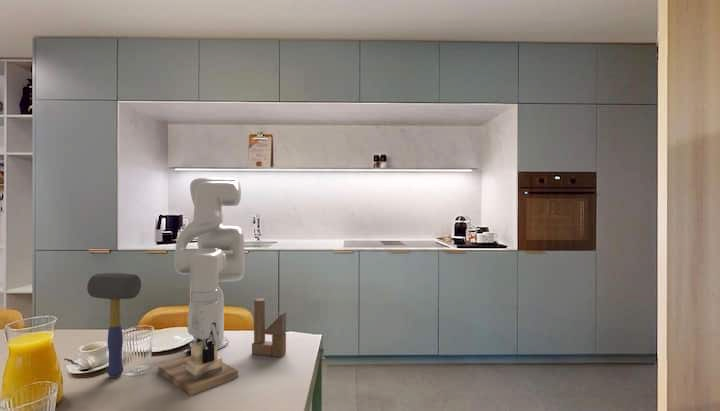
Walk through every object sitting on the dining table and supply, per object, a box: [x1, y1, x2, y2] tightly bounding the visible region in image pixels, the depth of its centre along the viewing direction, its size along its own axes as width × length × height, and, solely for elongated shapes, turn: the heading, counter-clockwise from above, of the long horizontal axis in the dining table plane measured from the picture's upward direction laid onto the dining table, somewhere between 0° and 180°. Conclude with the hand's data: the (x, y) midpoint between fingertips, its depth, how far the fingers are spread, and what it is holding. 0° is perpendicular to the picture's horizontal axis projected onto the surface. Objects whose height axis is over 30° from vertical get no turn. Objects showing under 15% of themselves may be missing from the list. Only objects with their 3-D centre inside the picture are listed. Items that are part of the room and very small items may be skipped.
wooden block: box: [251, 297, 287, 358], centre depth 130 cm, size 4×11×18 cm, turn 78°
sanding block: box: [186, 339, 223, 380], centre depth 112 cm, size 8×5×9 cm, turn 140°
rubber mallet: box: [86, 272, 142, 378], centre depth 113 cm, size 12×8×30 cm, turn 84°
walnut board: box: [157, 355, 239, 396], centre depth 115 cm, size 20×14×2 cm
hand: (204, 359), depth 112 cm, fingers closed on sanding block, 3 cm apart
